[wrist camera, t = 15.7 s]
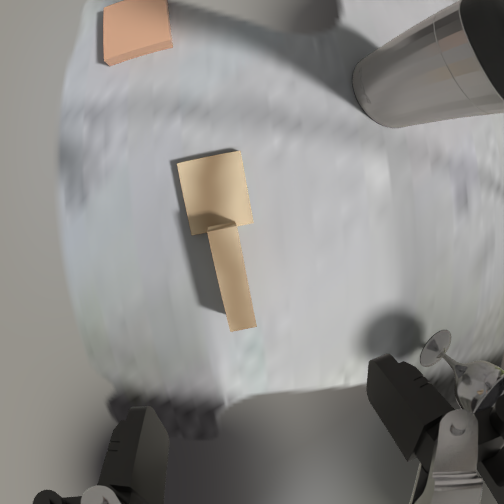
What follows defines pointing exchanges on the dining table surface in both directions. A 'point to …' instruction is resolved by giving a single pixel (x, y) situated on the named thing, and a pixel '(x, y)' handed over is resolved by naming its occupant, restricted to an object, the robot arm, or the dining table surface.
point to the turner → (221, 225)
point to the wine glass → (467, 375)
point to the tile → (135, 29)
